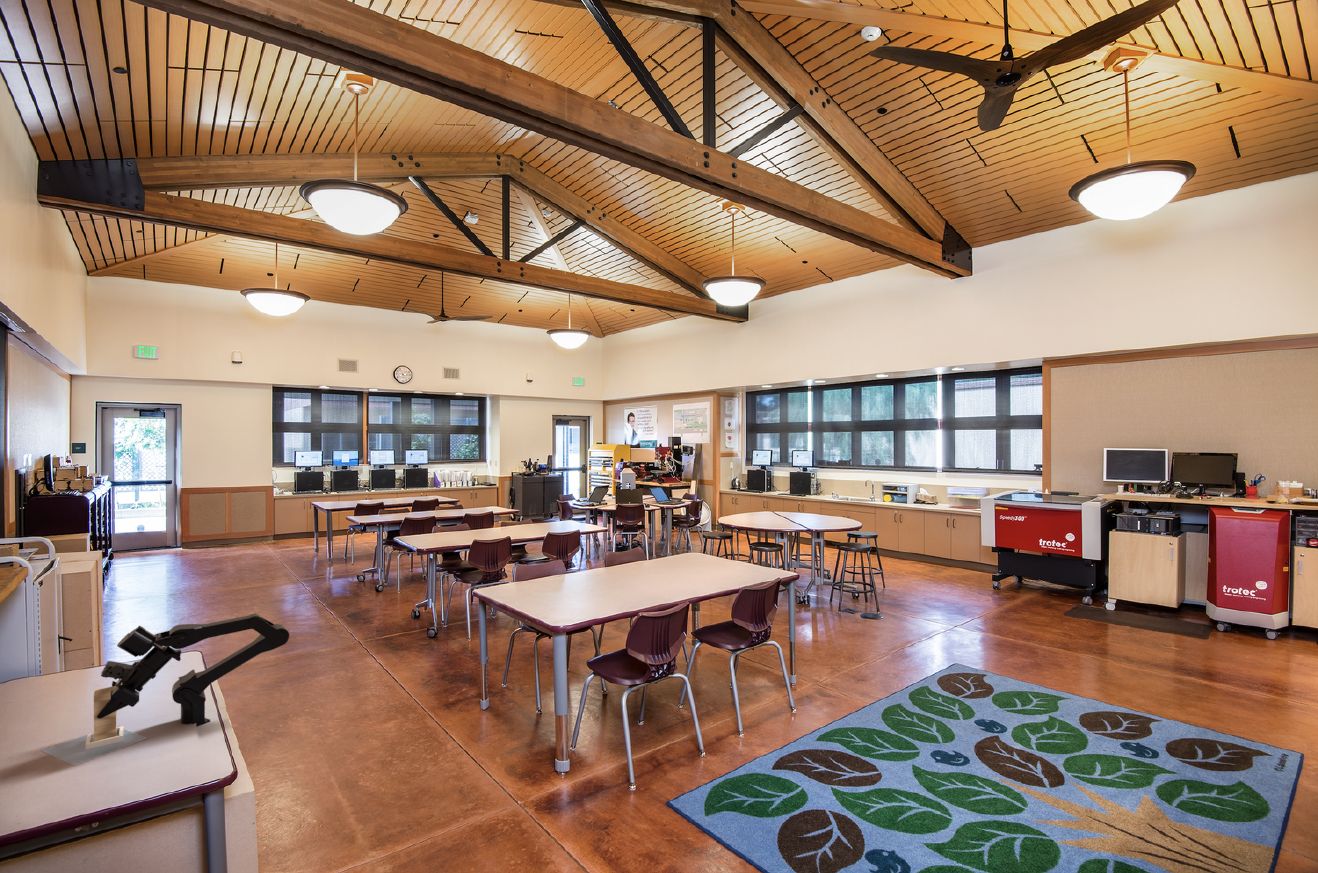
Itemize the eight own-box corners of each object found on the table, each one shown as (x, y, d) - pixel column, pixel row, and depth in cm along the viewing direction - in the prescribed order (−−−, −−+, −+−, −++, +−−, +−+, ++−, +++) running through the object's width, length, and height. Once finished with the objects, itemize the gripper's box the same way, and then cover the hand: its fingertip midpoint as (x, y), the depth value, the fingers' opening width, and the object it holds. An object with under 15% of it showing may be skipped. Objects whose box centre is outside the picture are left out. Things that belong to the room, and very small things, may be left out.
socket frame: (123, 731, 177) (123, 725, 177) (122, 741, 171) (122, 735, 171) (87, 739, 172) (87, 734, 172) (85, 750, 166) (85, 744, 166)
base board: (147, 742, 172) (147, 738, 172) (74, 770, 158) (74, 765, 158) (113, 729, 180) (113, 725, 180) (40, 755, 166) (40, 750, 166)
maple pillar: (116, 731, 174) (116, 685, 174) (116, 737, 171) (115, 690, 171) (95, 736, 172) (94, 690, 172) (94, 742, 168) (93, 695, 168)
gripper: (124, 641, 181) (73, 689, 174) (122, 659, 167) (66, 712, 160) (159, 662, 186) (110, 709, 179) (160, 680, 172) (107, 732, 165)
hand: (98, 714), depth 170 cm, fingers closed on maple pillar, 4 cm apart
